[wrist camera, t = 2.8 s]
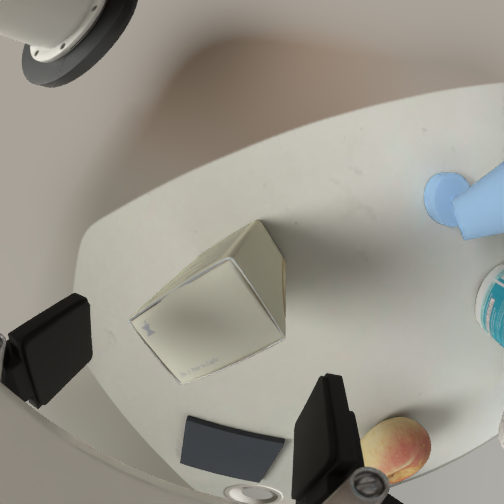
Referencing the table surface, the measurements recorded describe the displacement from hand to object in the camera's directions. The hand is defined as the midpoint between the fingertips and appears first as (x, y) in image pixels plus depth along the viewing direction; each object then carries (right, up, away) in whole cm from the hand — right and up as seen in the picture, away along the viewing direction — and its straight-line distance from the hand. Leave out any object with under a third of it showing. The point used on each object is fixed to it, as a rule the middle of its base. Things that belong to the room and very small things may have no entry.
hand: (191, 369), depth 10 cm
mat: (-1, -22, +21) cm, 31 cm away
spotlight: (+19, +9, +10) cm, 24 cm away
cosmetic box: (+1, +4, +14) cm, 14 cm away
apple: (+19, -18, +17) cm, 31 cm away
